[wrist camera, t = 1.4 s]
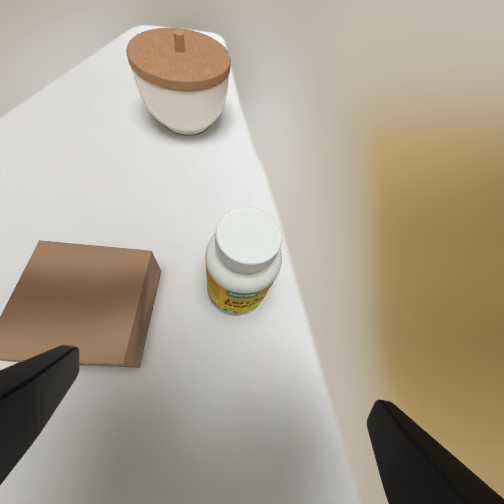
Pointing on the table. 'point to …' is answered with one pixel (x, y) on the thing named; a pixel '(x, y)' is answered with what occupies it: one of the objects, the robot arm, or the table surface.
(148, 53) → the lidded jar
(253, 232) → the supplement bottle
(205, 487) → the table surface
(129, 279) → the walnut block
